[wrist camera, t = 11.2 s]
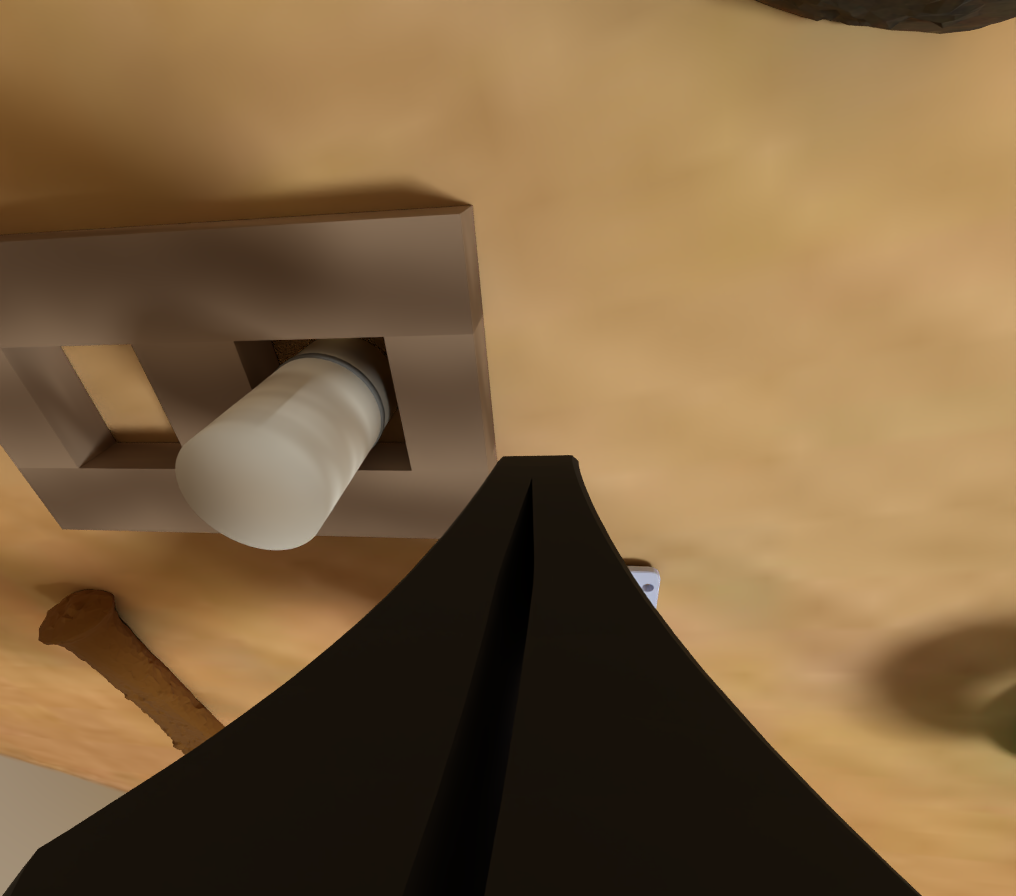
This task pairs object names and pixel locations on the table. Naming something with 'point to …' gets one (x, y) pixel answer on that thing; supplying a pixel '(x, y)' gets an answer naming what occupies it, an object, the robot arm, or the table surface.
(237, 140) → the table surface
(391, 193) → the table surface
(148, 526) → the board
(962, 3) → the hand tool
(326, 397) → the peg
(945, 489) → the table surface
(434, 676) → the robot arm
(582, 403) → the table surface
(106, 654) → the primitive tool
